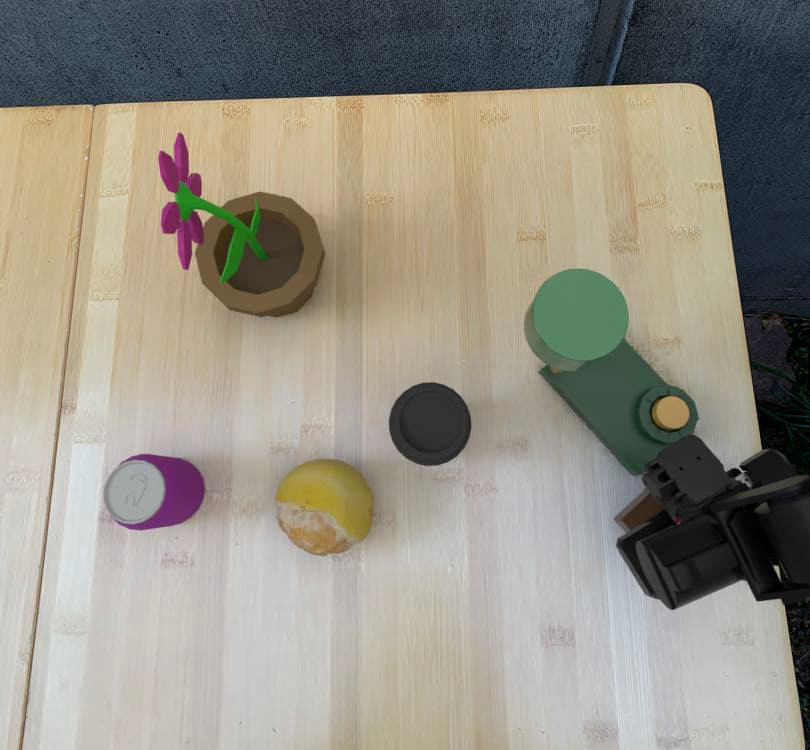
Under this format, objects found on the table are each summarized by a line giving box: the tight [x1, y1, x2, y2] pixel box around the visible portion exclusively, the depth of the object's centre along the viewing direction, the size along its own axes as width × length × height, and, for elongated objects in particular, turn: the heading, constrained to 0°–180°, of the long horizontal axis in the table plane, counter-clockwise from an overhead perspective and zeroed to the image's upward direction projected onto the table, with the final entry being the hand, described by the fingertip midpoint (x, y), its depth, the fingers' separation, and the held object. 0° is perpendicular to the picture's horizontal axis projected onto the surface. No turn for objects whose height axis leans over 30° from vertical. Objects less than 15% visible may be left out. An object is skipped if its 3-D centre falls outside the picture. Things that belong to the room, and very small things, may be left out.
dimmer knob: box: [660, 501, 681, 525], centre depth 73 cm, size 4×4×5 cm
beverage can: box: [102, 453, 206, 531], centre depth 74 cm, size 8×8×12 cm
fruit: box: [274, 458, 376, 557], centre depth 74 cm, size 10×11×10 cm
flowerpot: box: [157, 132, 326, 318], centre depth 71 cm, size 14×14×30 cm
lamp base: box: [538, 337, 700, 477], centre depth 79 cm, size 16×10×4 cm, turn 40°
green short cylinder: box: [523, 268, 630, 371], centre depth 59 cm, size 8×8×5 cm
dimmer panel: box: [613, 487, 666, 534], centre depth 76 cm, size 9×10×3 cm
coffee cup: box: [388, 381, 473, 467], centre depth 73 cm, size 8×8×15 cm
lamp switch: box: [652, 396, 689, 430], centre depth 76 cm, size 4×4×2 cm
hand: (681, 518), depth 74 cm, fingers closed on dimmer knob, 4 cm apart
